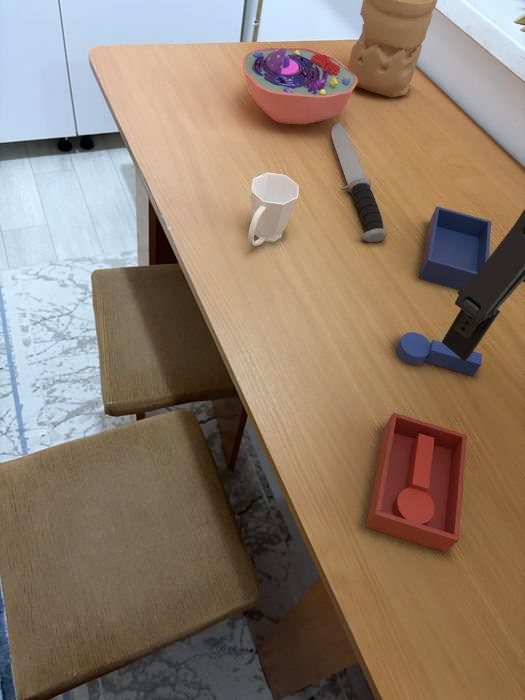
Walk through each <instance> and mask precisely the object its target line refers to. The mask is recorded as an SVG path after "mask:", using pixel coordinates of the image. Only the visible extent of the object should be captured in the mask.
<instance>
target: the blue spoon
mask: <svg viewBox="0 0 525 700" xmlns="http://www.w3.org/2000/svg"><path fill="white" fill-rule="evenodd" d="M396 353H397V355H398V356H397V357H399V359H400V360H401V361H403V362H404V363H406V364H407V365H412V366H419V365H422V364H424V363H428V364H430V365H434V366H436V367H437V366H438V367H441V368H443V369H448V370H451V371H455V372H458V373H461V374H465V375H469V376H471V377H474V376H475V374H476V373H477V372H478V370H479V369H480V367H481V366H482V365H483V363H482V362H483V354H482V352H481V353H480V352H476V351H475V350H474V351H473V352H472V354H471V355H470V357H469V358H468V359H467V360H465V361H463V360H462V359H461V358H460V357H459V356H457V355H456V354H455V353H454V352H453V351H451V350H450V349H449V348H448V347H447V346H445V345H444V344H443V343H442V341H439V340H436V339H432V340H431V341H430V340H429V339H428V338H427V336H425V335H424V334H421V333H419V332H416V331H415V332H414V331H409V332H406V333H404V334H403V335H402V336H401V338H400V341H399V342H398V344H397V346H396Z"/></svg>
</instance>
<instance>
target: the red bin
mask: <svg viewBox="0 0 525 700" xmlns="http://www.w3.org/2000/svg"><path fill="white" fill-rule="evenodd" d="M382 431H383V432H382V437H381V441H380V448H379V452H378V459H377V463H376V470H375V476H374V481H373V487H372V491H371V492H372V493H371V497H370V502H369V507H368V513H367V514H368V515H367V519H366V524H365V528H367V529H369V530H374V531H377V532H379V533H383V534H386V535H389V536H392V537H395V538H399V539H400V540H401V539H402V540H405V541H409V542H411V543H415V544H417V545H420V546H424V547H427V548H430V549H433V550H436V551H439V552H442V553H447V551H449V550H450V549H451V548H452V547H453V546H454V545H456V543H458V542H459V540H460V527H461V515H462V503H463V491H464V490H463V489H464V477H465V465H466V453H467V439H468V435H467V434H466V433H463V432H459V431H456V430H453V429H449V428H446V427H443V426H440V425H436V424H433V423H429V422H427V421H423V420H419V419H416V418H412V417H410V416H406V415H403V414H400V413H396V412H391V415H390V417H389V418H388V420H387V422H386V423H385V426H384V428H383V430H382ZM419 433H420V434H423V435H427V436H430V437H433V438H434V447H433V456H432V465H431V473H430V482H429V489H428V490H427V492H426V493H427V494H428V495H429V496H430V497H431V499H432V500H433V503H434V506H435V512H434V516H433V518H432V519H431V520H430V521H429V522H428V523H427V524H426V525H422V524H419V523H415V522H412V521H409V520H406V519H403V518H400V517H397V516H394V514H393V510H392V506H393V502H394V500H395V499H396V497H397V496H398V495H399V493H400V492H401V491H402V490H404V489H405V488H406V481H407V474H408V467H409V460H410V453H411V446H412V443H413V441H414V440H415V439H416V437H417V436H418V434H419Z"/></svg>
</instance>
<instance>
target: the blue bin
mask: <svg viewBox="0 0 525 700" xmlns="http://www.w3.org/2000/svg"><path fill="white" fill-rule="evenodd" d="M430 217H431V218H430V220H429V221H428V225H427V231H426V237H425V242H424V247H423V248H424V249H423V254H422V260H421V266H420V272H419V277H418V278H419V279H420V280H424V281H427V282H431V283H434V284H438V285H441V286H444V287H445V286H446V287H448V288H452V289H455V290H458V291H459V290H460V289H461V288H463V289H464V290H465V288H466V287H467V286H468V284H469V283H470V282H471V280H472V279H473V278H474V277H475V275H476V274H477V273H478V271H479V270H480V269H481V268H482V266H483V265H484V264H485V262H486V261H487V260H488V258H489V257H490V250H491V249H490V247H491V233H492V221H491V220H489V219H485V218H482V217H479V216H474V215H472V214H471V215H470V214H467V213H462V212H459V211H456V210H452V209H449V208H444V207H442V206H435V208H434V211H433V212H432V215H431V216H430Z"/></svg>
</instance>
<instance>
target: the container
mask: <svg viewBox="0 0 525 700" xmlns="http://www.w3.org/2000/svg"><path fill="white" fill-rule="evenodd" d="M437 4H438V0H362V4H361V8H360V14H359V15H360V17H361V19H362V21H363V23H362V28H361V34H360V36H359V38H358V39H357V41H356V42H355V43H354V45H352V48H351V51H350V55H349V60H348V64H347V68H348V69H349V70H350V71H351V72H352V73H353V74H354V75H355V76H356V77H357V79H358V83H357V84H356V86H355V88H360V89H363V90H366V91H368V92H371V93H375V94H378V95H382V96H385V97H388V98H395V97H401V96H406V95H407V94H408V91H409V88H410V84H411V82H412V79H413V76H414V74H415V70H416V67H417V63H418V61H419V59H420V55H421V52H422V47H423V42H424V41H425V39H426V36H427V34H428V33H427V32H428V29H429V27H430V24H431V21H432V18H433V15H434V14H433V11H434V10H435V9H436V6H437Z"/></svg>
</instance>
